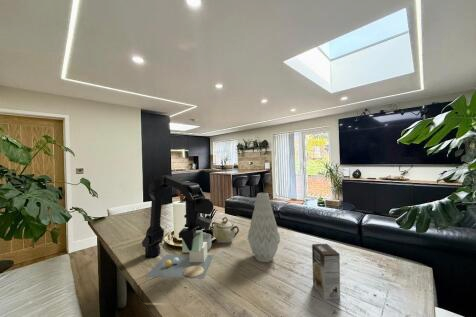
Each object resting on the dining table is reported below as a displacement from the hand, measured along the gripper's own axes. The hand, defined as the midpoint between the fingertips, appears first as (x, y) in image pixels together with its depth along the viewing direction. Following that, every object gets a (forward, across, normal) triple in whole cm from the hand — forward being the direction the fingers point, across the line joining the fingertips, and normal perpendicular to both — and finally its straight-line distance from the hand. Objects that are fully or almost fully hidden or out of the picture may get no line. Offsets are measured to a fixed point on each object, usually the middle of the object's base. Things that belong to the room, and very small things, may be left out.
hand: (193, 246), depth 90 cm
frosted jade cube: (+1, 0, 0) cm, 1 cm away
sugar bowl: (+12, +36, -9) cm, 39 cm away
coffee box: (+12, -10, -54) cm, 56 cm away
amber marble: (+11, +4, +13) cm, 18 cm away
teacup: (+12, +24, +2) cm, 27 cm away
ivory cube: (+11, +12, +1) cm, 16 cm away
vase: (+12, +15, -32) cm, 37 cm away
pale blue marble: (+11, +6, +11) cm, 17 cm away
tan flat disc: (+11, 0, 0) cm, 11 cm away
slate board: (+12, +6, +7) cm, 15 cm away
